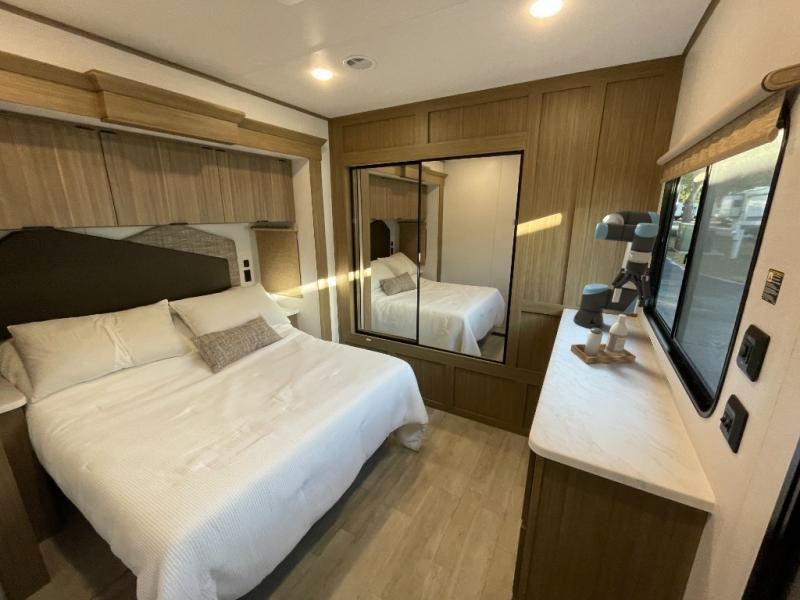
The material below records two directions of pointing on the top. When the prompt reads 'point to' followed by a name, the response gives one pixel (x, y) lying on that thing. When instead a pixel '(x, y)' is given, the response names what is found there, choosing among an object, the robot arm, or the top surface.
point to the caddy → (602, 355)
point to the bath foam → (617, 337)
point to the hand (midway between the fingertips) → (625, 307)
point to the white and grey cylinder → (593, 342)
